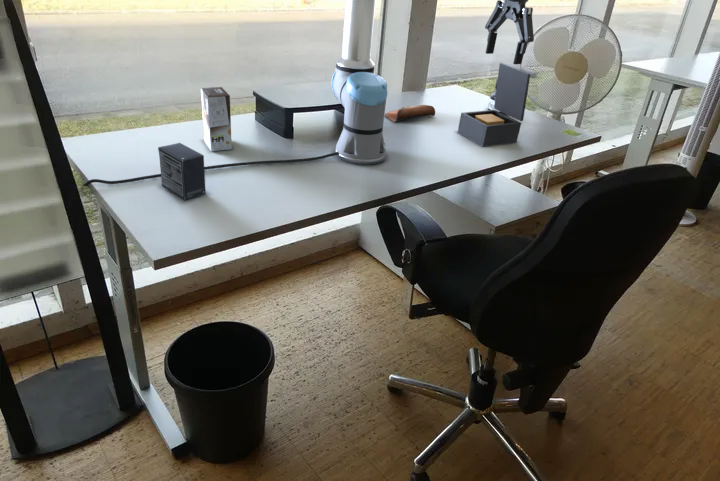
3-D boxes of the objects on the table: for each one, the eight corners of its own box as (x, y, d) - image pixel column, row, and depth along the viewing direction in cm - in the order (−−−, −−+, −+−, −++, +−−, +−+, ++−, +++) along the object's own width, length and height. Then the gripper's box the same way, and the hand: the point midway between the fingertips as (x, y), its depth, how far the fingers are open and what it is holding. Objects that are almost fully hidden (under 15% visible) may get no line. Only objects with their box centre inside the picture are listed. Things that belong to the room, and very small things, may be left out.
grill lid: (528, 74, 176) (545, 70, 179) (499, 63, 186) (516, 59, 189) (520, 121, 185) (537, 117, 188) (493, 108, 195) (510, 104, 198)
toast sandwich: (484, 139, 186) (488, 122, 183) (472, 131, 191) (475, 115, 188) (500, 137, 189) (504, 120, 186) (487, 130, 194) (491, 113, 191)
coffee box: (232, 149, 162) (230, 95, 153) (210, 151, 159) (207, 96, 151) (224, 138, 169) (222, 86, 160) (203, 140, 166) (199, 87, 157)
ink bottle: (483, 107, 221) (490, 77, 215) (504, 108, 223) (510, 78, 217) (492, 115, 213) (499, 84, 207) (513, 116, 215) (521, 85, 209)
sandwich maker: (482, 146, 183) (487, 126, 179) (457, 132, 193) (461, 112, 189) (516, 142, 189) (521, 122, 186) (490, 128, 200) (494, 109, 196)
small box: (207, 194, 136) (205, 154, 131) (184, 201, 132) (181, 161, 127) (183, 179, 142) (180, 141, 137) (160, 186, 138) (156, 146, 132)
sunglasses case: (420, 109, 210) (428, 96, 205) (429, 123, 208) (437, 111, 202) (383, 114, 201) (390, 101, 195) (391, 129, 198) (399, 116, 193)
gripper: (557, -7, 159) (538, 68, 170) (500, -19, 177) (487, 49, 188) (538, -7, 155) (520, 69, 166) (482, -20, 174) (469, 49, 185)
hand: (502, 58), depth 177 cm, fingers open, 13 cm apart
